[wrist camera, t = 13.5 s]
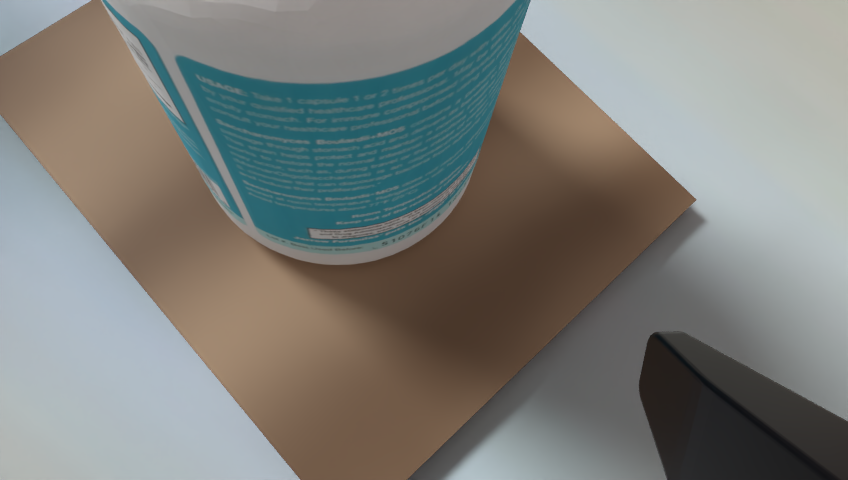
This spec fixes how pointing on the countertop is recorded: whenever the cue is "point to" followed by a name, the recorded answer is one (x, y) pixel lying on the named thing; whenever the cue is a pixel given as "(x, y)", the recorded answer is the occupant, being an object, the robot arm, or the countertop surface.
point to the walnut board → (358, 283)
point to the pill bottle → (328, 110)
